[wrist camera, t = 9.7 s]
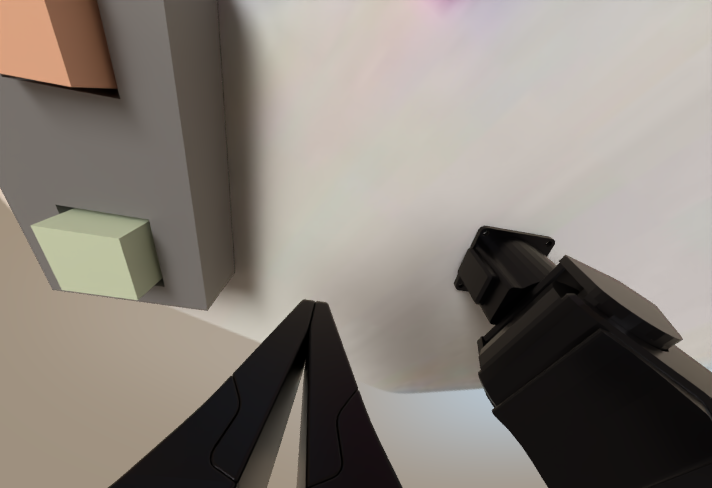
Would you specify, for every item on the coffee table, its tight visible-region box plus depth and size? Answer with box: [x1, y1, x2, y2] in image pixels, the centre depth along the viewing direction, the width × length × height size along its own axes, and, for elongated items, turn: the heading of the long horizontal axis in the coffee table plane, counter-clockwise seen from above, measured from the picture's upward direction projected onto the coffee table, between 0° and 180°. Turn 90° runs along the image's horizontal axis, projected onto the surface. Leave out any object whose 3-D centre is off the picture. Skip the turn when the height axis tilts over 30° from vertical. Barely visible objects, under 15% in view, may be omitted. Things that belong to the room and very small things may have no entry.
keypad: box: [0, 0, 235, 311], centre depth 16 cm, size 11×21×5 cm, turn 170°
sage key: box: [30, 208, 163, 300], centre depth 18 cm, size 5×5×6 cm
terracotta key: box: [0, 0, 118, 89], centre depth 12 cm, size 5×5×6 cm
